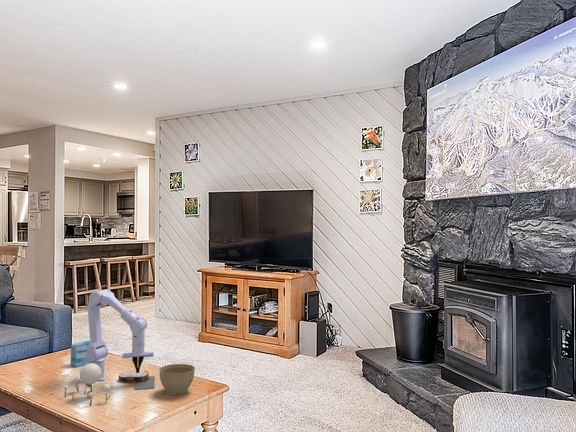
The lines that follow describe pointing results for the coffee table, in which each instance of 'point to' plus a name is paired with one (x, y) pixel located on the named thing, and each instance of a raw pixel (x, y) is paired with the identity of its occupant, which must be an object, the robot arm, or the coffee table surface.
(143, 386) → the mat
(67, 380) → the coffee table surface
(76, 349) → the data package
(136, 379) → the tin
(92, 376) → the figurines
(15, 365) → the coffee table surface
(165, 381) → the planter bowl
